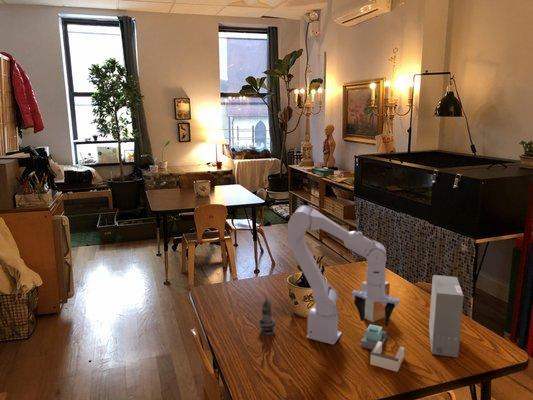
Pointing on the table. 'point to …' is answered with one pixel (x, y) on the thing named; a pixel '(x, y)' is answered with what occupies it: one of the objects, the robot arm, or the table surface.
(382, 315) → the small box
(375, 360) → the port
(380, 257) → the robot arm
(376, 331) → the plug
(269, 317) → the grey ridged spire
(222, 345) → the table surface
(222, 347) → the table surface
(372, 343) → the frame
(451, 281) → the hard drive box
